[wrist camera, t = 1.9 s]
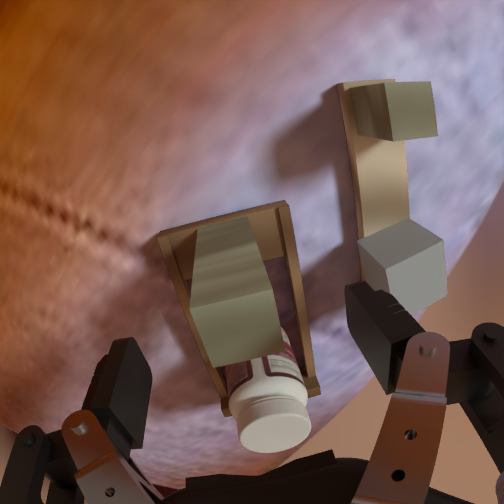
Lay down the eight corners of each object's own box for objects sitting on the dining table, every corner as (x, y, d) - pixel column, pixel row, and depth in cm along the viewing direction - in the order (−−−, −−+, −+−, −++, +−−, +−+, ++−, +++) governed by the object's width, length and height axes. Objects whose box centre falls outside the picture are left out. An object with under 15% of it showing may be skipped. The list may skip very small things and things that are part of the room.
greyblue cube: (356, 241, 20) (385, 269, 16) (407, 217, 19) (443, 240, 16) (368, 290, 21) (395, 323, 18) (415, 267, 21) (447, 294, 17)
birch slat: (336, 83, 16) (376, 75, 12) (386, 80, 17) (434, 74, 12) (361, 294, 22) (392, 335, 18) (402, 282, 23) (437, 318, 18)
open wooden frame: (160, 231, 19) (125, 320, 10) (284, 200, 19) (340, 268, 10) (223, 394, 25) (231, 490, 16) (313, 373, 25) (346, 464, 16)
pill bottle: (235, 372, 24) (247, 463, 16) (214, 328, 22) (218, 424, 14) (294, 355, 24) (323, 442, 16) (279, 307, 22) (310, 399, 14)
